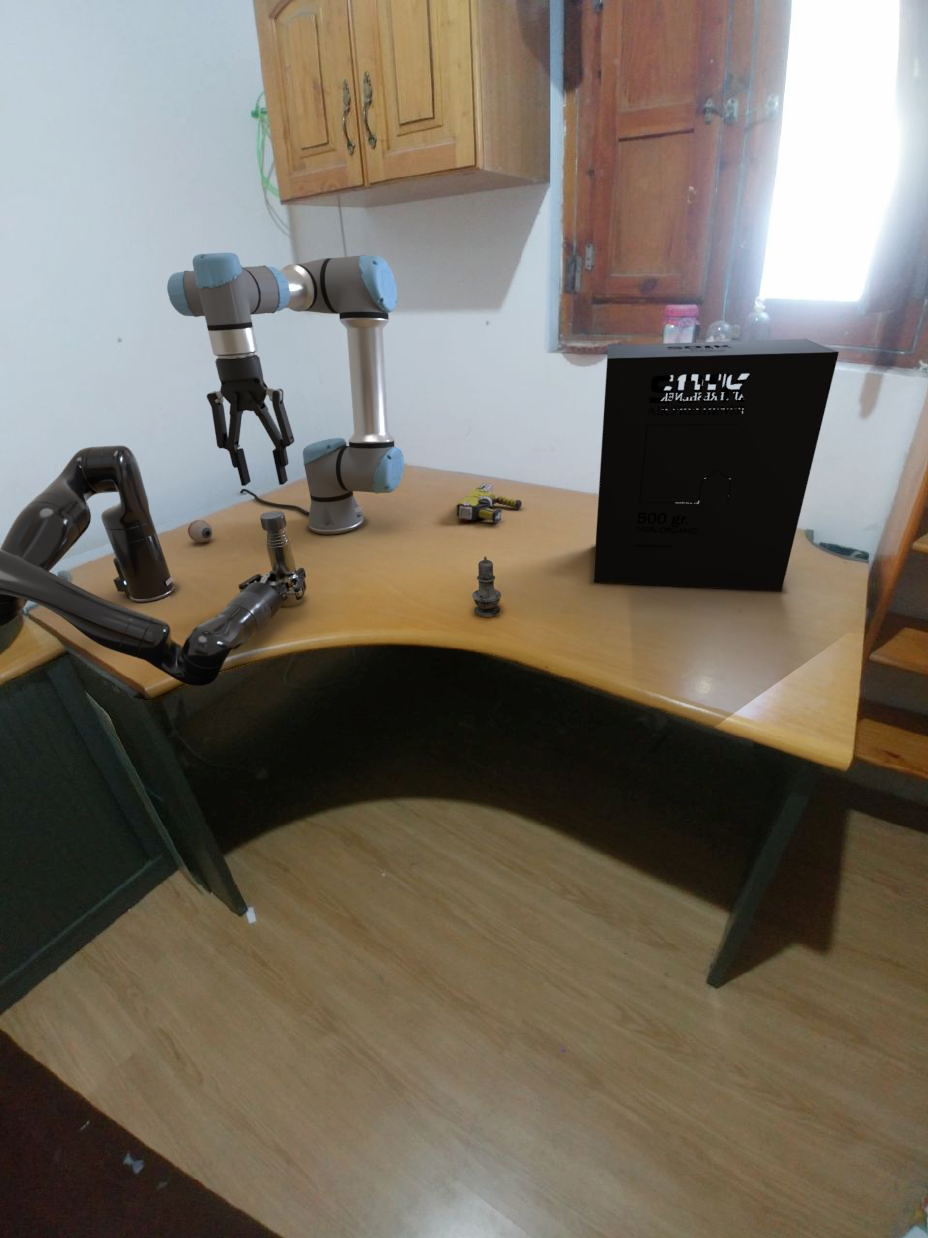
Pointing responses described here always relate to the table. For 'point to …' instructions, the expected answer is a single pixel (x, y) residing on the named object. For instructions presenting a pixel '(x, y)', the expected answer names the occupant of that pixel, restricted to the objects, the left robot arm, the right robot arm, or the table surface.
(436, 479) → the table surface
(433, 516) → the table surface
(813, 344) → the cardboard box
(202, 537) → the eyeball
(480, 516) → the toy gun
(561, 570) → the table surface
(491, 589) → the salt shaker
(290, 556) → the bottle
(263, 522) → the cap
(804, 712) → the table surface
